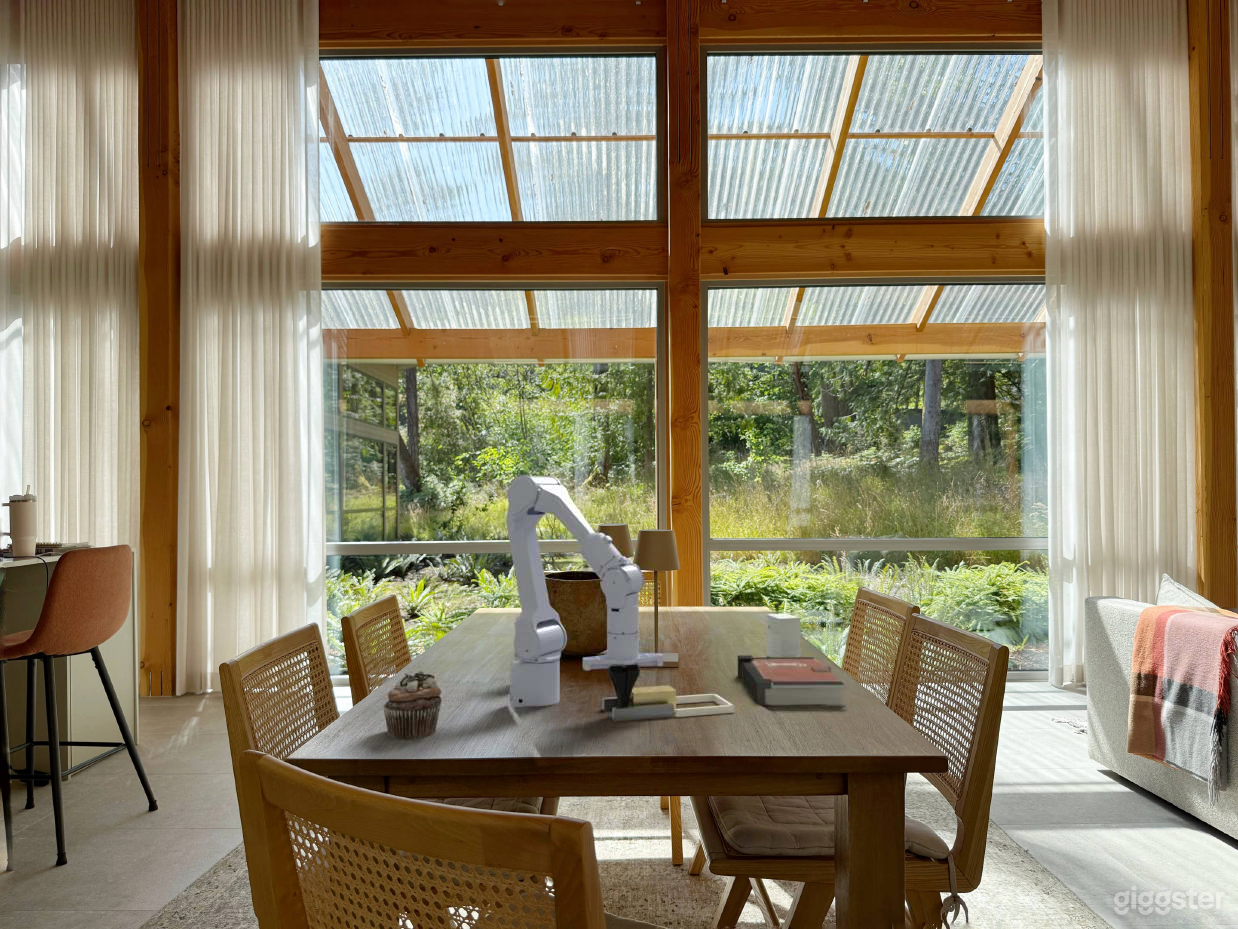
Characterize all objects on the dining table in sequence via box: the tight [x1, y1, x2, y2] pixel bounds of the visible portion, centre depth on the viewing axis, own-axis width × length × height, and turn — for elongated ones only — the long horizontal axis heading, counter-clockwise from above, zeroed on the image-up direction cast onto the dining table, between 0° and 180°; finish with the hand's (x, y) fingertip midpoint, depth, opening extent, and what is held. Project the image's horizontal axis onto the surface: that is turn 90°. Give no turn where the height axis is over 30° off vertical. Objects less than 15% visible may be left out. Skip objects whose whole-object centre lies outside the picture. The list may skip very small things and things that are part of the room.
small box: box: [765, 613, 802, 657], centre depth 200 cm, size 8×6×10 cm
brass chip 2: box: [648, 685, 677, 714], centre depth 149 cm, size 4×4×4 cm
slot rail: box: [601, 696, 675, 722], centre depth 148 cm, size 11×8×3 cm
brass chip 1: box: [628, 686, 655, 707], centre depth 148 cm, size 4×4×4 cm
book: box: [737, 654, 846, 708], centre depth 168 cm, size 26×18×5 cm
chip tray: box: [674, 693, 735, 718], centre depth 150 cm, size 11×9×2 cm
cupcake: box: [382, 670, 442, 740], centre depth 139 cm, size 10×10×10 cm
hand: (623, 707), depth 147 cm, fingers closed
